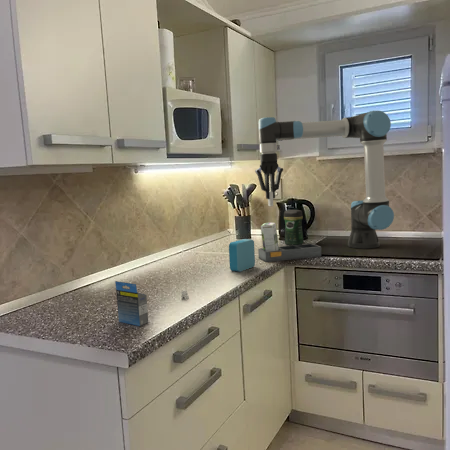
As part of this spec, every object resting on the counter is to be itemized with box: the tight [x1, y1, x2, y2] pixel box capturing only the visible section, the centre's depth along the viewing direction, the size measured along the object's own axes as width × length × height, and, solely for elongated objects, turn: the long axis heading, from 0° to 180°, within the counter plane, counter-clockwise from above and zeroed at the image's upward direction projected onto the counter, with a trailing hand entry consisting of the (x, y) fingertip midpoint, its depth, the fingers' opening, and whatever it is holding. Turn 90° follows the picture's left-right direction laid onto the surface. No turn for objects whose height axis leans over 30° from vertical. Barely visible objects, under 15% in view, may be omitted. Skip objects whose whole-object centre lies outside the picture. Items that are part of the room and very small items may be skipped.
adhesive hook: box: [179, 289, 190, 301], centre depth 154 cm, size 3×3×3 cm
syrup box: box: [260, 222, 280, 252], centre depth 208 cm, size 6×6×14 cm
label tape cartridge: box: [114, 280, 149, 327], centre depth 132 cm, size 9×4×12 cm, turn 56°
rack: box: [257, 243, 322, 263], centre depth 211 cm, size 27×10×4 cm, turn 105°
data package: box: [228, 238, 256, 273], centre depth 192 cm, size 12×4×12 cm, turn 140°
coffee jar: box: [283, 209, 305, 246], centre depth 243 cm, size 10×8×19 cm
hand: (270, 206), depth 207 cm, fingers closed
